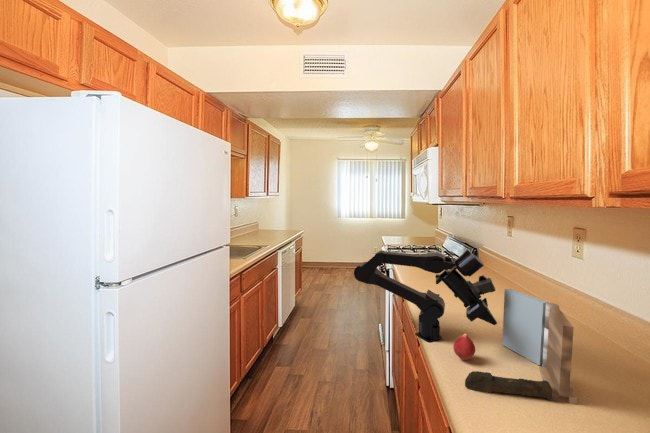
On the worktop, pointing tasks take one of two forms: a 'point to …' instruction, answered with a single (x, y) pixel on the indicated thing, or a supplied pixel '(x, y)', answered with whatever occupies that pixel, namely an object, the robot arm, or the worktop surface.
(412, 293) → the robot arm
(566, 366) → the hinge frame
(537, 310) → the hinged leaf
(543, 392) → the hand tool
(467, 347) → the onion
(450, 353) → the worktop surface
